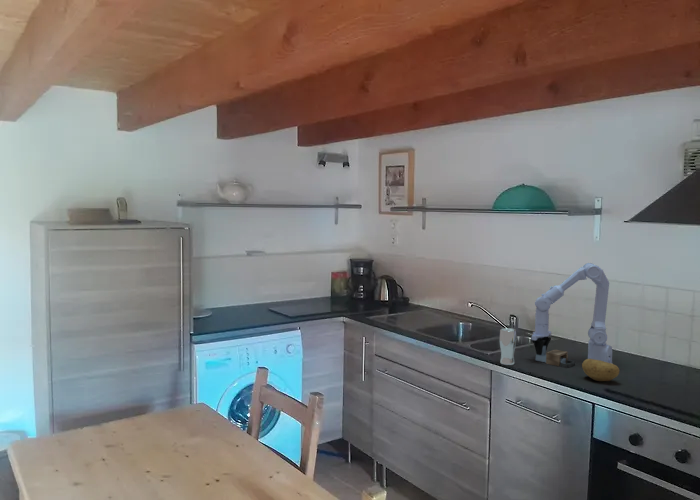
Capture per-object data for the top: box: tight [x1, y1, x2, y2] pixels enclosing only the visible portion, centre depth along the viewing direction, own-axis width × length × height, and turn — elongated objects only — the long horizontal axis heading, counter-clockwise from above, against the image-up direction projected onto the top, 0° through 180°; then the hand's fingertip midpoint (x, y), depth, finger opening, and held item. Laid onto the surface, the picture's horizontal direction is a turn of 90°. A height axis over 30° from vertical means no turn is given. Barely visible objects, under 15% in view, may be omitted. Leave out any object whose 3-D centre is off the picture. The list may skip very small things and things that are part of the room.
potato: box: [581, 358, 620, 382], centre depth 229 cm, size 10×14×8 cm
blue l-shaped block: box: [535, 345, 566, 364], centre depth 257 cm, size 12×4×6 cm, turn 44°
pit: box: [559, 359, 576, 368], centre depth 251 cm, size 3×7×1 cm, turn 134°
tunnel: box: [545, 349, 569, 367], centre depth 254 cm, size 6×8×5 cm
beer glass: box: [499, 327, 517, 366], centre depth 254 cm, size 7×7×15 cm
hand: (541, 353), depth 260 cm, fingers closed on blue l-shaped block, 3 cm apart
